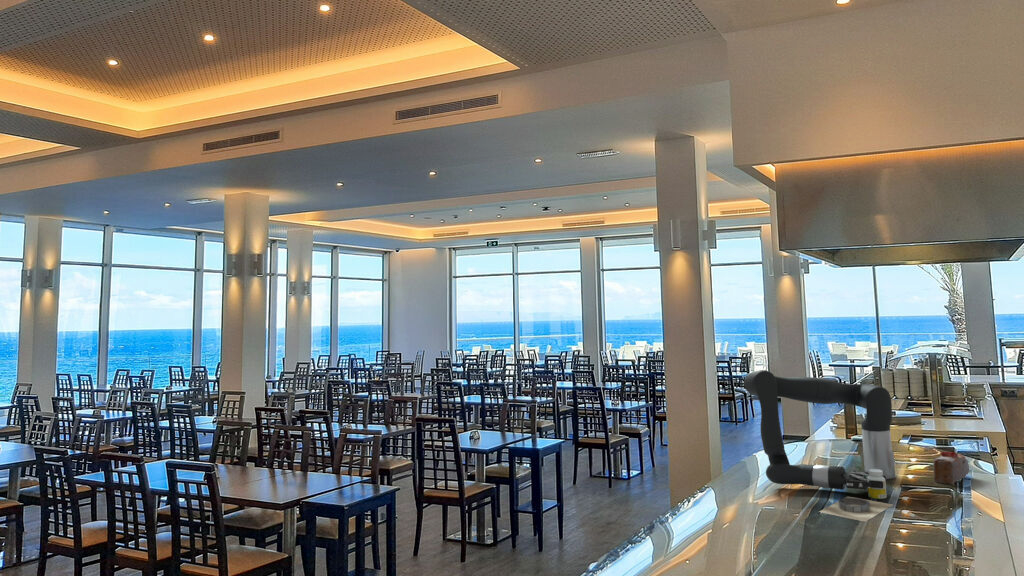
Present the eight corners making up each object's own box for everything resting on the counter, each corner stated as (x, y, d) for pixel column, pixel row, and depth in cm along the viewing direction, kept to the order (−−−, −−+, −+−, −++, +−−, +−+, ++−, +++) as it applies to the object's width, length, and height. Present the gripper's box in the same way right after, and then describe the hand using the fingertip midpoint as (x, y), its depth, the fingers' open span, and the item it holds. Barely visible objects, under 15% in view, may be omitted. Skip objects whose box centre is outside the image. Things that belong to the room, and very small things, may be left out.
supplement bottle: (885, 503, 215) (882, 473, 215) (866, 500, 219) (864, 471, 219) (888, 498, 219) (886, 469, 220) (870, 496, 223) (868, 467, 223)
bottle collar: (866, 504, 212) (865, 498, 212) (873, 513, 204) (872, 507, 204) (836, 503, 214) (836, 497, 214) (842, 512, 206) (841, 506, 206)
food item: (946, 473, 243) (944, 446, 243) (971, 477, 236) (969, 449, 236) (931, 482, 234) (929, 453, 234) (958, 486, 228) (955, 457, 228)
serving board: (848, 499, 221) (847, 496, 221) (893, 508, 210) (893, 504, 210) (818, 515, 208) (818, 511, 208) (865, 525, 197) (865, 521, 197)
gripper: (823, 471, 222) (880, 476, 212) (832, 460, 233) (886, 465, 224) (825, 493, 222) (882, 500, 212) (833, 482, 233) (888, 487, 224)
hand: (884, 482), depth 218 cm, fingers open, 6 cm apart
